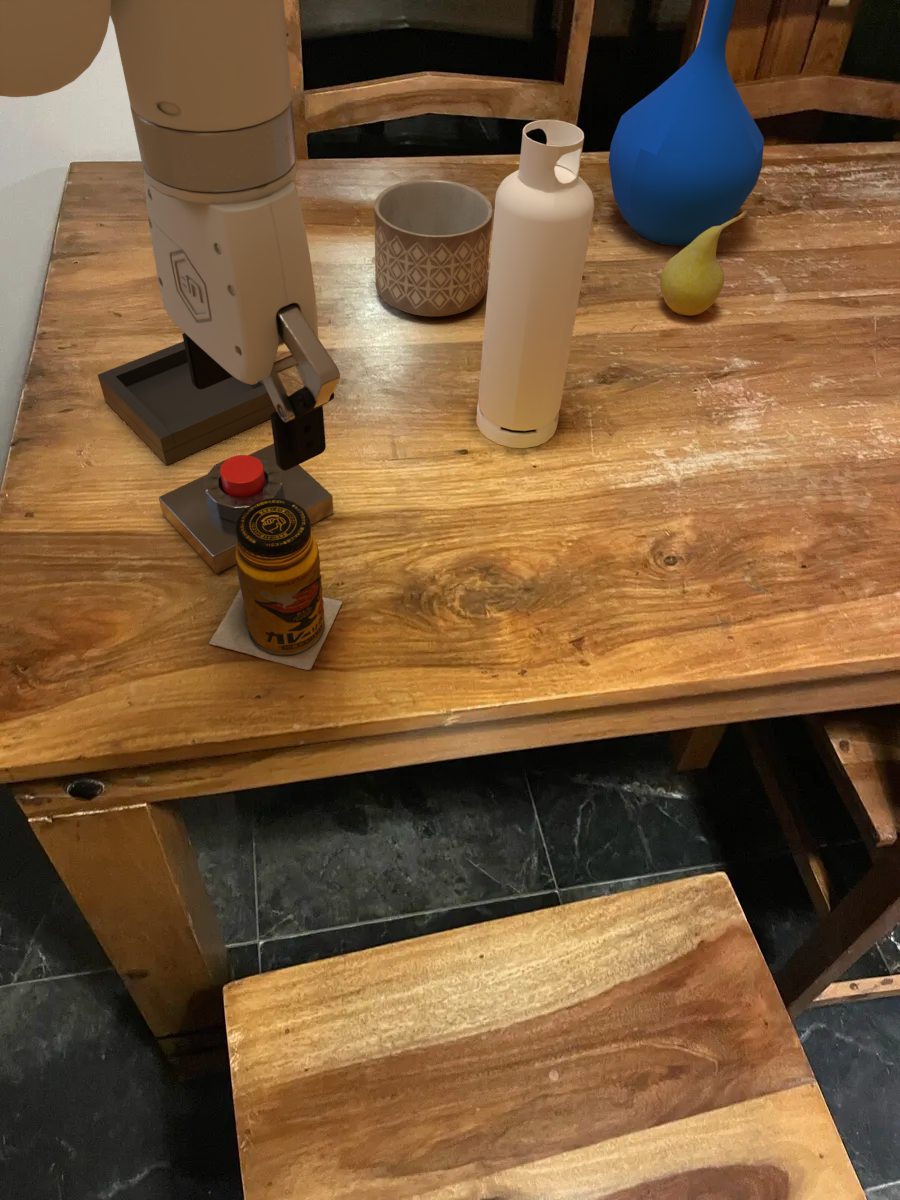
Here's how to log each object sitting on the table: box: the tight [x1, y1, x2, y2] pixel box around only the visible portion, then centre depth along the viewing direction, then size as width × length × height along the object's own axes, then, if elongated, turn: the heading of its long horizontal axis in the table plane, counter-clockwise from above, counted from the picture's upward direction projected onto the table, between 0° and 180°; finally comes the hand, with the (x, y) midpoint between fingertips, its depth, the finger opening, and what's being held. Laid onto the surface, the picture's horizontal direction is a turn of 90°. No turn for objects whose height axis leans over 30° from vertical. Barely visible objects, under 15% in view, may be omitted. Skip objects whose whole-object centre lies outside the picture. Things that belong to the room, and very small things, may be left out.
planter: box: [373, 178, 494, 317], centre depth 104 cm, size 13×13×10 cm
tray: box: [97, 340, 276, 466], centre depth 91 cm, size 13×12×3 cm
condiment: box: [208, 498, 343, 671], centre depth 70 cm, size 7×8×12 cm
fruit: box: [659, 209, 749, 316], centre depth 103 cm, size 7×8×12 cm
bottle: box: [475, 119, 595, 449], centre depth 82 cm, size 8×8×28 cm
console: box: [158, 442, 334, 575], centre depth 81 cm, size 12×9×4 cm
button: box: [220, 454, 265, 498], centre depth 79 cm, size 4×4×2 cm
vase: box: [608, 0, 765, 247], centre depth 109 cm, size 18×18×30 cm
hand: (257, 418), depth 59 cm, fingers open, 9 cm apart
